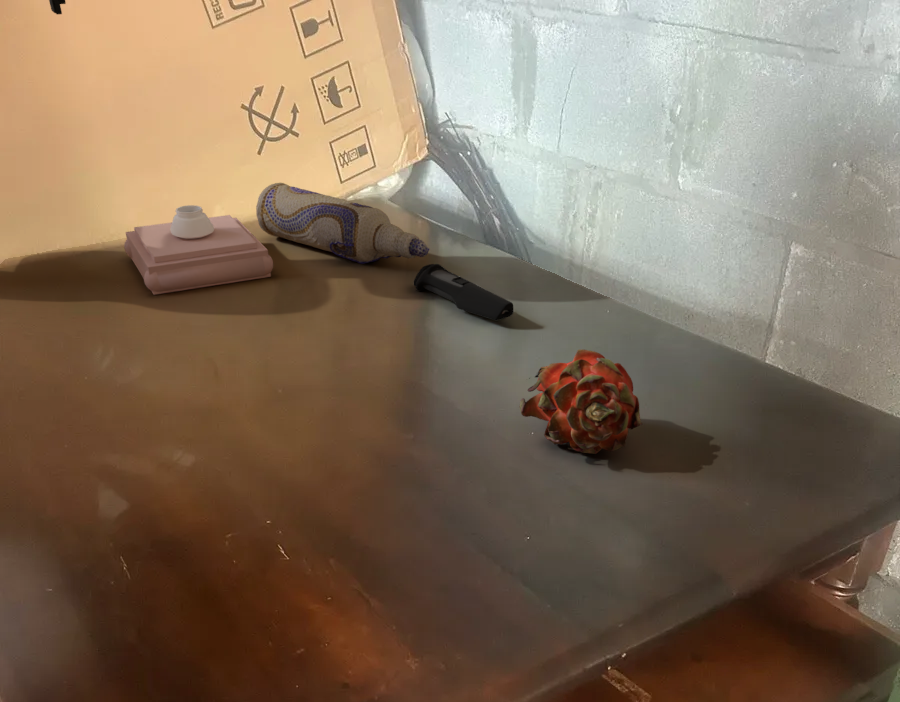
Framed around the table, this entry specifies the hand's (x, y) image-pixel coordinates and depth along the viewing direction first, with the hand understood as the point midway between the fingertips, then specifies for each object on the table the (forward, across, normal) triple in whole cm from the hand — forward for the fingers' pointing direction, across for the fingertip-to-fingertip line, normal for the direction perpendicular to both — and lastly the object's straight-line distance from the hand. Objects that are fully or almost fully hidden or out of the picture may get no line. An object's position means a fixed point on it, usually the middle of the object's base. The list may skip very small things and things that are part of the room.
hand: (9, 15), depth 96 cm
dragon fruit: (+26, -33, +64) cm, 77 cm away
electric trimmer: (+26, -38, +32) cm, 56 cm away
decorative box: (+26, -14, +7) cm, 31 cm away
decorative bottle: (+26, -31, +10) cm, 42 cm away
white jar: (+22, -14, +7) cm, 27 cm away
